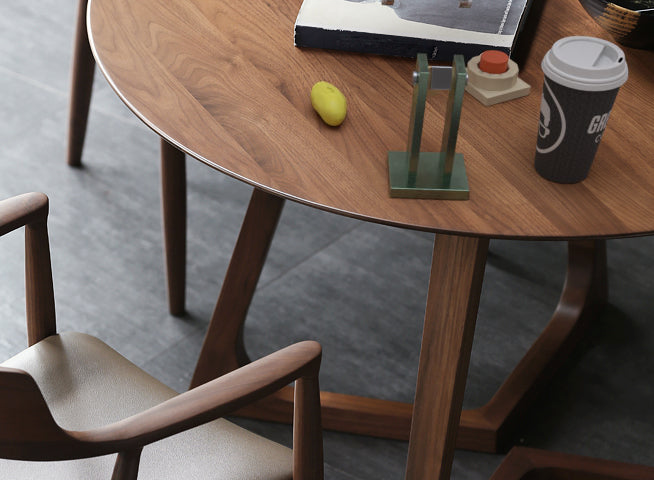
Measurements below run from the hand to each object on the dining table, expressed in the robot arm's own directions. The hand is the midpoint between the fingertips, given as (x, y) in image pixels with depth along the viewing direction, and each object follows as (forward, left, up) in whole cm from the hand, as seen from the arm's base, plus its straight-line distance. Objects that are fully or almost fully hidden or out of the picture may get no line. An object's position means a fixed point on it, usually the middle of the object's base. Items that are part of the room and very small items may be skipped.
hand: (426, 5), depth 131 cm
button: (-1, -11, -10) cm, 15 cm away
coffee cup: (-21, -7, -13) cm, 26 cm away
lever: (-14, +8, -4) cm, 16 cm away
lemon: (+2, +12, -13) cm, 18 cm away
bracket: (-16, +9, -13) cm, 23 cm away
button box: (-1, -11, -13) cm, 17 cm away
